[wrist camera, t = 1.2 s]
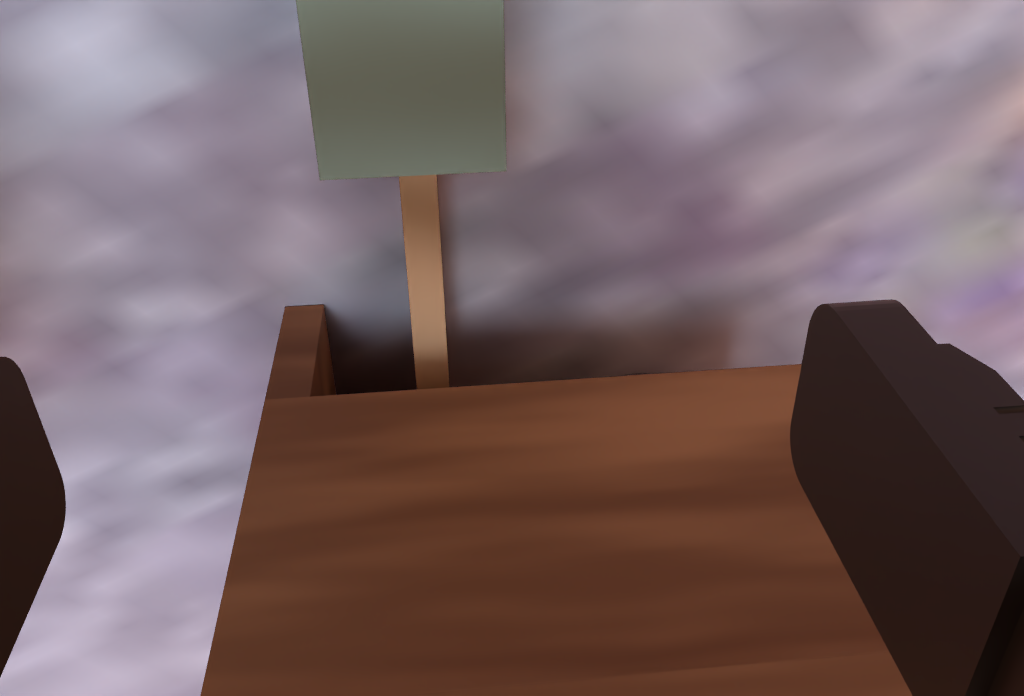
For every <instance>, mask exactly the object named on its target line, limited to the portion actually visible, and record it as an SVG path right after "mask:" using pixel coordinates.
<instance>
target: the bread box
mask: <svg viewBox="0 0 1024 696" xmlns="http://www.w3.org/2000/svg"><path fill="white" fill-rule="evenodd" d="M801 365H802V364H796V365H781V366H766V367H751V368H735V369H720V370H705V371H690V372H675V373H660V374H645V375H630V376H615V377H599V378H584V379H569V380H554V381H539V382H524V383H509V384H494V385H479V386H463V387H448V388H433V389H418V390H403V391H388V392H373V393H358V394H343V395H336V388H335V381H334V374H333V367H332V360H331V353H330V346H329V339H328V332H327V325H326V318H325V311H324V305H309V306H292V307H285V310H284V315H283V319H282V324H281V329H280V333H279V338H278V342H277V347H276V352H275V356H274V361H273V365H272V370H271V375H270V379H269V384H268V388H267V393H266V398H265V402H264V407H263V411H262V416H261V421H260V425H259V430H258V434H257V439H256V444H255V448H254V453H253V457H252V462H251V467H250V471H249V476H248V480H247V485H246V490H245V494H244V499H243V503H242V508H241V513H240V517H239V522H238V526H237V531H236V536H235V540H234V545H233V549H232V554H231V558H230V563H229V568H228V572H227V577H226V581H225V586H224V591H223V595H222V600H221V604H220V609H219V614H218V618H217V623H216V627H215V632H214V637H213V641H212V646H211V650H210V655H209V660H208V664H207V669H206V673H205V678H204V683H203V687H202V692H201V696H912V694H911V692H910V690H909V688H908V686H907V684H906V682H905V681H904V679H903V677H902V675H901V673H900V671H899V669H898V667H897V665H896V664H895V662H894V660H893V658H892V656H891V654H890V652H889V650H888V648H887V647H886V645H885V643H884V641H883V639H882V637H881V635H880V633H879V632H878V630H877V628H876V626H875V624H874V622H873V620H872V618H871V616H870V615H869V613H868V611H867V609H866V607H865V605H864V603H863V601H862V599H861V598H860V596H859V594H858V592H857V590H856V588H855V586H854V584H853V583H852V581H851V579H850V577H849V575H848V573H847V571H846V569H845V567H844V566H843V564H842V562H841V560H840V558H839V556H838V554H837V552H836V550H835V549H834V547H833V545H832V543H831V541H830V539H829V537H828V535H827V533H826V532H825V530H824V528H823V526H822V524H821V522H820V520H819V518H818V517H817V515H816V513H815V511H814V509H813V507H812V505H811V503H810V501H809V500H808V498H807V496H806V494H805V492H804V490H803V488H802V486H801V484H800V482H799V480H798V478H797V475H796V472H795V469H794V465H793V460H792V455H791V447H790V426H791V419H792V414H793V408H794V403H795V397H796V392H797V387H798V381H799V376H800V371H801Z"/></svg>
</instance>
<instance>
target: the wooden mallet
mask: <svg viewBox="0 0 1024 696" xmlns="http://www.w3.org/2000/svg"><path fill="white" fill-rule="evenodd" d="M296 5H297V13H298V20H299V28H300V35H301V43H302V50H303V58H304V65H305V72H306V80H307V87H308V95H309V102H310V110H311V117H312V125H313V132H314V140H315V147H316V155H317V162H318V170H319V177H320V180H337V179H357V178H378V177H399V184H400V196H401V208H402V220H403V231H404V243H405V255H406V267H407V279H408V291H409V303H410V314H411V326H412V338H413V350H414V362H415V374H416V386H417V390H418V389H433V388H448V387H449V372H448V356H447V339H446V323H445V306H444V290H443V274H442V257H441V241H440V224H439V208H438V191H437V175H440V174H460V173H481V172H501V171H506V114H505V55H504V0H296Z"/></svg>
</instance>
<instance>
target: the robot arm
mask: <svg viewBox="0 0 1024 696" xmlns="http://www.w3.org/2000/svg"><path fill="white" fill-rule="evenodd" d="M790 447H791V455H792V460H793V465H794V469H795V472H796V475H797V478H798V480H799V482H800V484H801V486H802V488H803V490H804V492H805V494H806V496H807V498H808V500H809V501H810V503H811V505H812V507H813V509H814V511H815V513H816V515H817V517H818V518H819V520H820V522H821V524H822V526H823V528H824V530H825V532H826V533H827V535H828V537H829V539H830V541H831V543H832V545H833V547H834V549H835V550H836V552H837V554H838V556H839V558H840V560H841V562H842V564H843V566H844V567H845V569H846V571H847V573H848V575H849V577H850V579H851V581H852V583H853V584H854V586H855V588H856V590H857V592H858V594H859V596H860V598H861V599H862V601H863V603H864V605H865V607H866V609H867V611H868V613H869V615H870V616H871V618H872V620H873V622H874V624H875V626H876V628H877V630H878V632H879V633H880V635H881V637H882V639H883V641H884V643H885V645H886V647H887V648H888V650H889V652H890V654H891V656H892V658H893V660H894V662H895V664H896V665H897V667H898V669H899V671H900V673H901V675H902V677H903V679H904V681H905V682H906V684H907V686H908V688H909V690H910V692H911V694H912V696H1024V400H1023V399H1022V398H1021V397H1020V396H1019V395H1018V394H1017V393H1016V392H1015V391H1014V390H1013V389H1012V388H1011V387H1010V385H1009V384H1008V383H1007V382H1006V381H1005V380H1004V379H1003V378H1002V377H1001V376H1000V375H999V374H998V373H997V372H996V371H995V370H993V369H992V368H990V367H988V366H987V365H985V364H983V363H982V362H980V361H978V360H976V359H975V358H973V357H971V356H970V355H968V354H966V353H965V352H963V351H961V350H959V349H958V348H956V347H954V346H953V345H951V344H937V343H936V342H935V341H934V340H933V339H932V338H931V336H930V335H929V334H928V333H927V332H926V331H925V330H924V328H923V327H922V326H921V325H920V324H919V323H918V322H917V321H916V319H915V318H914V317H913V316H912V315H911V314H910V313H909V311H908V310H907V309H906V308H905V307H904V306H903V305H902V304H901V303H900V302H898V301H896V300H877V301H862V302H847V303H832V304H822V305H820V306H818V307H817V308H816V310H815V311H814V313H813V315H812V317H811V320H810V323H809V328H808V333H807V338H806V344H805V349H804V355H803V360H802V365H801V371H800V376H799V381H798V387H797V392H796V397H795V403H794V408H793V414H792V419H791V426H790ZM65 511H66V501H65V490H64V484H63V480H62V476H61V473H60V471H59V468H58V465H57V463H56V460H55V457H54V455H53V452H52V449H51V447H50V444H49V442H48V439H47V436H46V434H45V431H44V428H43V426H42V423H41V420H40V418H39V415H38V412H37V410H36V407H35V404H34V402H33V399H32V397H31V394H30V391H29V389H28V386H27V383H26V381H25V378H24V376H23V374H22V372H21V370H20V368H19V367H18V366H17V364H16V363H15V362H14V361H13V360H11V359H10V358H7V357H0V677H1V674H2V672H3V670H4V667H5V665H6V663H7V660H8V658H9V656H10V654H11V651H12V649H13V647H14V644H15V642H16V640H17V637H18V635H19V633H20V631H21V628H22V626H23V624H24V621H25V619H26V617H27V614H28V612H29V610H30V608H31V605H32V603H33V601H34V598H35V596H36V594H37V591H38V589H39V587H40V584H41V582H42V580H43V578H44V575H45V573H46V571H47V568H48V566H49V564H50V561H51V559H52V557H53V555H54V552H55V550H56V548H57V545H58V543H59V541H60V538H61V535H62V531H63V527H64V521H65Z"/></svg>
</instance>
